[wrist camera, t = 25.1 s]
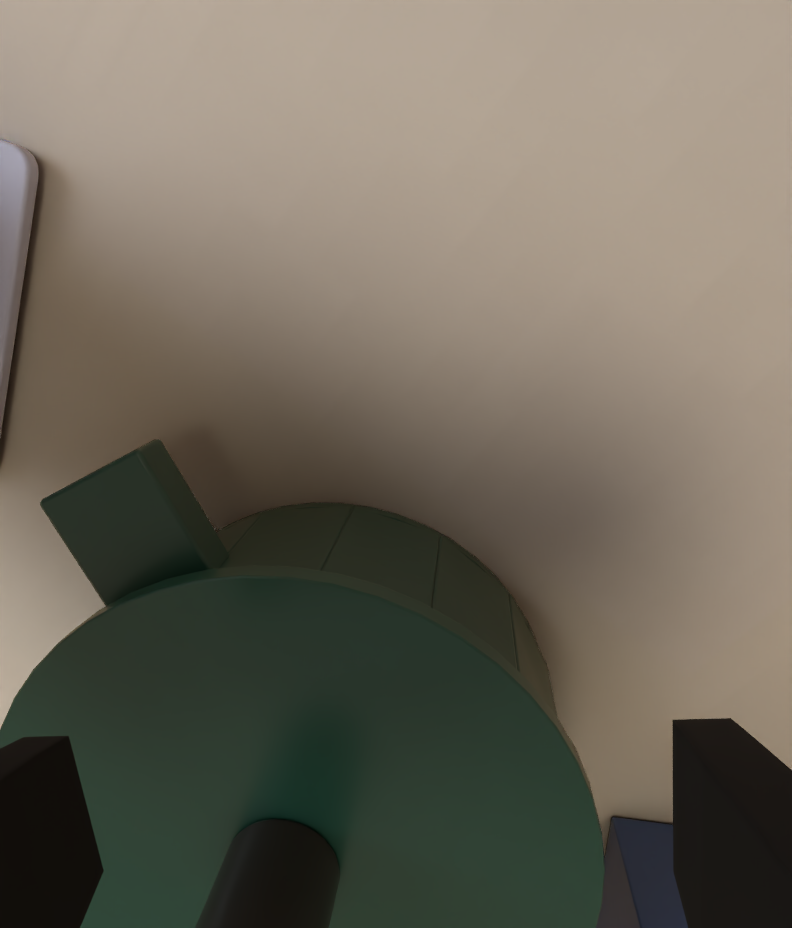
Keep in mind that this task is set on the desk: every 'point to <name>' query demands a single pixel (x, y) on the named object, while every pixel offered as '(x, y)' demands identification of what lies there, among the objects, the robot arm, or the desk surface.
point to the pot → (278, 549)
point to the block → (640, 877)
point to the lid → (313, 762)
